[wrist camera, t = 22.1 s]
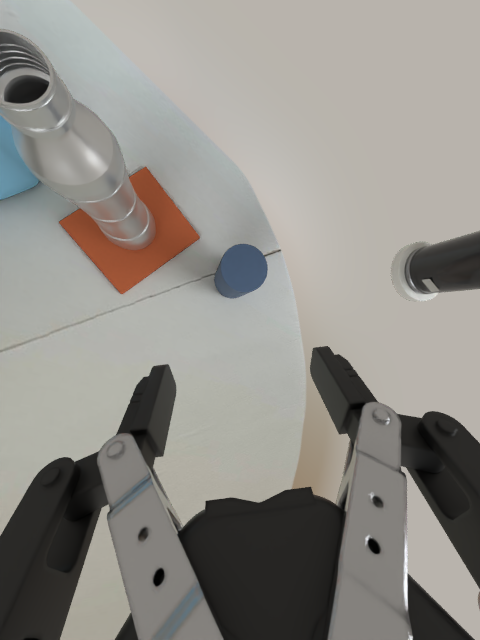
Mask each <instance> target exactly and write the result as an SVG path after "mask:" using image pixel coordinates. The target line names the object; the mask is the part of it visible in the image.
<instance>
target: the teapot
mask: <svg viewBox="0 0 480 640" xmlns="http://www.w3.org/2000/svg"><path fill="white" fill-rule="evenodd" d="M38 182H39V180H38V179H37V178H36V177H35V176H34V175H33V174H32V172H31V171H30V170H29V168H28V167H27V165H26V164H25V162H24V161H23V159H22V158H21V156H20V155H19V153H18V151H17V149H16V146H15V143H14V139H13V135H12V129H11V125H10V124H9V123H8V122H7V121H6V120H5V119H4V118H3V117H2V116H1V115H0V200H1V199H5V198H7V197H10V196H13V195H15V194H18V193H20V192H23V191H25V190H28V189H30V188H32V187H34V186H35V185H37V184H38Z"/></svg>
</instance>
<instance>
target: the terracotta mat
mask: <svg viewBox="0 0 480 640" xmlns="http://www.w3.org/2000/svg"><path fill="white" fill-rule="evenodd" d="M129 180H130V182H131V184H132V186H133V189H134V191H135V193H136V194H137V196H138V197H139V199H140V200H141V201H142V202H143V203H144V204H145V205H146V206H147V208H148V209H149V210H150V212H151V213H152V215H153V217H154V220H155V226H156V233H155V237H154V239H153V241H152V242H151V244H150V245H148V246H147V247H145V248H143V249H140V250H128V249H124V248H122V247H119V246H117V245H115V244H114V243H112V242H111V241H110V240H109V239H108V238H107V237H106V236H105V235H104V234H103V232H102V231H101V229H100V228H99V226H98V224H97V223H96V222H95V221H94V220H93V219H92V217H91V216H89V215H88V214H87V213H86V212H84V211H83V210H82V209H81V208H80V209H78V210H77V211H75V212H74V213H72V214H71V215H69V216H67V217H66V218H64V219H63V220H61V221H60V222H59V223H60V224H61V225H62V227H63V228H64V229H65V230H66V231H67V232H68V233H69V235H70V236H71V237H72V238H73V239H74V240H75V242H76V243H77V244H78V245H79V246H80V247H81V248H82V250H83V251H84V252H85V253H86V254H87V255H88V256H89V258H90V259H91V260H92V261H93V262H94V263H95V265H96V266H97V267H98V268H99V269H100V270H101V271H102V273H103V274H104V275H105V276H106V277H107V278H108V279H109V281H110V282H111V283H112V284H113V285H114V286H115V288H116V289H117V290H118V291H119V292H120V293H121V294H123V293H125V292H126V291H128V290H129V289H130V288H132V287H133V286H135V285H136V284H137V283H139V282H140V281H141V280H143V279H144V278H146V277H147V276H148V275H150V274H151V273H152V272H154V271H155V270H157V269H158V268H159V267H161V266H162V265H164V264H165V263H166V262H168V261H169V260H170V259H172V258H173V257H175V256H176V255H177V254H179V253H180V252H181V251H183V250H184V249H186V248H187V247H188V246H190V245H191V244H193V243H194V242H195V241H197V240H198V239H199V238H200V237H199V235H198V234H197V233H196V231H195V230H194V229H193V227H192V226H191V225H190V224H189V222H188V221H187V220H186V218H185V217H184V216H183V214H182V213H181V212H180V211H179V209H178V208H177V207H176V205H175V204H174V203H173V201H172V200H171V199H170V197H169V196H168V195H167V194H166V192H165V191H164V190H163V188H162V187H161V186H160V184H159V183H158V182H157V181H156V179H155V178H154V177H153V175H152V174H151V173H150V171H149V170H148V169H147V167H145V168H143V169H141V170H140V171H138V172H137V173H135V174H134V175H132V176H130V177H129Z"/></svg>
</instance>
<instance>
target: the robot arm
mask: <svg viewBox="0 0 480 640" xmlns="http://www.w3.org/2000/svg"><path fill="white" fill-rule="evenodd" d="M404 273H405V278H406V281H407V284H408V285H409V287H410V288H411V289H412V290H413V291H414V292H416V293H418V294H432V293H440V292H451V291H463V290H472V289H480V231H478V232H474V233H471V234H467V235H464V236H461V237H457V238H454V239H450V240H447V241H444V242H440V243H437V244H433V245H430V246H426V247H422V248H418V249H416V250H414V251H413V252H412V253H411V254H410V255H409V256H408V258H407V260H406V263H405V269H404ZM310 372H311V376H312V379H313V381H314V383H315V385H316V387H317V389H318V391H319V393H320V395H321V398H322V400H323V402H324V404H325V406H326V408H327V410H328V412H329V414H330V416H331V418H332V420H333V422H334V424H335V426H336V429H337V431H338V433H339V434H346V433H347V434H348V436H349V438H350V442H349V447H348V452H347V457H346V462H345V467H344V472H343V477H342V481H341V485H340V488H339V492H338V496H337V500H336V504H334V503H333V502H331V501H329V500H327V499H325V498H323V497H320V496H317V495H313V492H312V489H311V487H306V488H299V489H291V490H285V491H283V492H281V493H279V494H277V495H275V496H273V497H271V498H269V499H267V500H265V501H263V502H260V503H257V502H252V501H247V500H242V499H237V498H225V499H217V500H210V501H206V506H205V510H203V511H201V512H199V513H198V514H196V515H195V516H194V517H193V518H192V519H190V520H189V521H188V522H187V524H186V525H185V526H184V527H183V525H182V523H181V521H180V519H179V517H178V515H177V513H176V511H175V510H174V508H173V506H172V504H171V502H170V500H169V498H168V496H167V494H166V492H165V490H164V488H163V486H162V484H161V482H160V480H159V478H158V476H157V474H156V472H155V470H154V468H153V464H154V460H155V457H161V456H163V455H164V450H165V445H166V440H167V435H168V430H169V426H170V421H171V416H172V411H173V406H174V401H175V397H176V383H175V380H174V378H173V375H172V372H171V369H170V367H169V365H168V364H167V365H158V366H153V367H152V370H151V372H150V375H149V376H148V377H143V379H142V380H141V381H140V382H139V383H138V384H137V386H136V388H135V391H134V393H133V396H132V398H131V400H130V404H129V405H128V408H127V410H126V413H125V415H124V417H123V420H122V422H121V425H120V427H119V430H118V432H117V434H116V435H115V436H114V437H112V438H111V439H109V440H108V441H107V442H106V443H105V444H104V445H103V446H102V448H101V449H100V451H98V452H96V453H94V454H92V455H90V456H87V457H85V458H83V459H80V460H78V461H76V462H74V461H73V460H72V459H71V458H68V457H63V458H59V459H57V460H54V461H53V462H51V463H49V464H48V465H47V466H45V467H44V468H43V469H42V470H41V471H40V472H39V473H38V474H37V475H36V477H35V478H34V480H33V481H32V483H31V484H30V486H29V488H28V490H27V491H26V493H25V495H24V497H23V498H22V500H21V502H20V503H19V505H18V507H17V509H16V510H15V512H14V514H13V515H12V517H11V519H10V521H9V522H8V524H7V526H6V527H5V529H4V531H3V533H2V534H1V536H0V640H60V637H61V634H62V631H63V627H64V624H65V621H66V618H67V615H68V612H69V609H70V605H71V602H72V599H73V596H74V593H75V590H76V587H77V583H78V580H79V577H80V574H81V571H82V568H83V565H84V561H85V558H86V555H87V552H88V549H89V546H90V543H91V539H92V536H93V533H94V530H95V527H96V524H97V521H98V517H99V514H100V511H101V508H102V507H104V506H106V505H108V504H109V507H110V512H108V514H107V521H108V525H109V529H110V533H111V537H112V541H113V545H114V548H115V552H116V556H117V560H118V564H119V568H120V571H121V575H122V579H123V583H124V587H125V590H126V594H127V598H128V602H129V606H130V610H131V613H130V615H129V617H128V618H127V620H126V622H125V623H124V625H123V627H122V628H121V630H120V632H119V633H118V635H117V637H116V638H115V640H474V639H473V638H472V637H471V636H470V635H469V634H468V633H467V632H466V631H465V630H464V629H463V628H462V627H461V626H460V625H459V624H458V623H457V622H456V621H455V620H454V619H453V618H452V617H451V616H450V615H449V614H448V613H447V612H446V611H445V610H444V609H443V608H442V607H441V606H440V605H439V604H438V603H437V602H436V601H435V600H434V599H433V598H432V597H431V596H430V595H429V594H428V593H427V592H426V591H425V590H424V589H423V588H422V587H421V586H420V585H419V584H418V583H417V582H416V581H415V580H414V579H413V578H412V577H411V576H410V575H409V574H408V573H407V480H406V475H405V473H403V472H402V471H401V466H403V467H406V468H407V470H408V471H409V473H410V474H411V476H412V478H413V479H414V481H415V483H416V484H417V486H418V488H419V489H420V491H421V493H422V494H423V496H424V497H425V499H426V501H427V502H428V504H429V506H430V507H431V509H432V511H433V512H434V514H435V516H436V517H437V519H438V520H439V522H440V524H441V526H442V527H443V529H444V530H445V532H446V534H447V536H448V537H449V539H450V541H451V542H452V544H453V545H454V547H455V549H456V550H457V552H458V554H459V555H460V557H461V559H462V560H463V562H464V564H465V565H466V567H467V569H468V570H469V572H470V574H471V575H472V577H473V579H474V580H475V582H476V583H477V585H478V587H479V588H480V443H479V442H478V441H477V440H476V439H475V438H474V437H473V436H472V435H471V434H470V433H469V432H468V431H467V430H466V428H465V427H464V426H463V425H461V423H459V422H458V421H457V420H455V419H454V418H452V417H450V416H448V415H446V414H443V413H440V412H434V411H432V412H427V413H425V414H424V416H423V417H422V418H417V417H411V416H406V415H400V414H397V413H396V412H395V411H394V410H392V409H391V408H390V407H388V406H386V405H384V404H382V403H379V402H378V401H377V400H376V399H375V397H374V396H373V394H372V393H371V392H370V390H369V389H368V388H367V386H366V385H365V384H364V382H363V381H362V380H361V378H360V377H359V376H358V374H357V373H356V371H355V370H354V369H353V367H352V366H351V365H350V363H349V362H348V361H347V360H346V359H345V358H343V357H342V356H340V355H339V354H338V355H334V353H333V352H332V351H331V349H330V348H329V347H328V346H325V347H316V348H313V351H312V359H311V365H310ZM478 604H479V609H480V592H479V595H478Z"/></svg>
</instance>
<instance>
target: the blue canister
mask: <svg viewBox="0 0 480 640" xmlns="http://www.w3.org/2000/svg"><path fill="white" fill-rule="evenodd" d="M266 276H267V262H266V259H265V257H264V256H263V254H262V253H261V252H260V251H259V250H258V249H257V248H255V247H254V246H251V245H248V244H238V245H235V246H233V247H231V248H230V249H228V250H227V251H226V252H225V254H224V256H223V258H222V260H221V262H220V264H219V267H218V269H217V271H216V274H215V279H214V281H215V286H216V288H217V290H218V291H219V292H220V293H221V294H222V295H223V296H225V297H228V298H237V297H240V296H242V295H245V294H247V293H249V292H252V291H254V290H256V289H257V288H259V287H260V286H261V285H262V284H263V282H264V281H265V279H266Z"/></svg>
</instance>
